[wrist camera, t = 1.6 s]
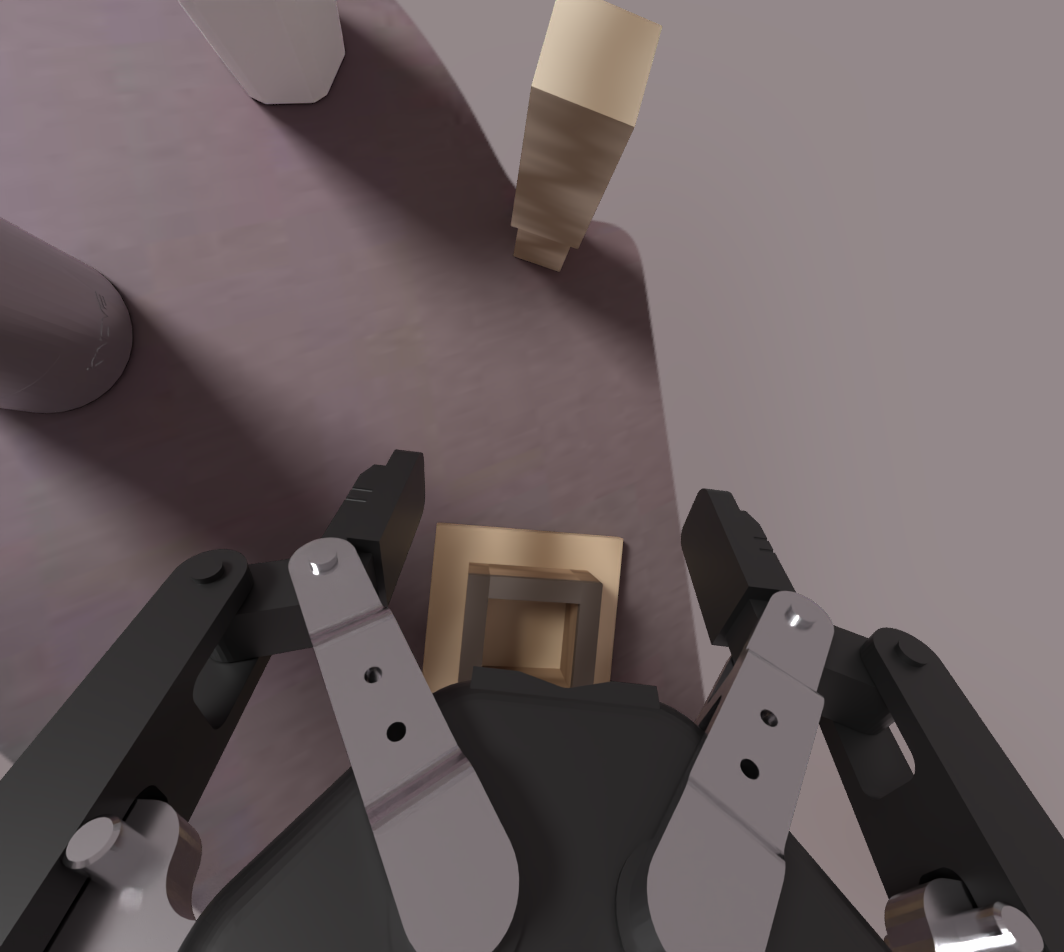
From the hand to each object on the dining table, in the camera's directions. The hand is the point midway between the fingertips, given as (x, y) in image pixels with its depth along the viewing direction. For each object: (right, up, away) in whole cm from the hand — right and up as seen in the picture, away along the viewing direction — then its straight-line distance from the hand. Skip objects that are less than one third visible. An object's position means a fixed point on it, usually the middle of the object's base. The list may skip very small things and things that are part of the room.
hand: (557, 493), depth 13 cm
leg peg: (0, +16, +16) cm, 23 cm away
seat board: (-1, -9, +16) cm, 18 cm away
